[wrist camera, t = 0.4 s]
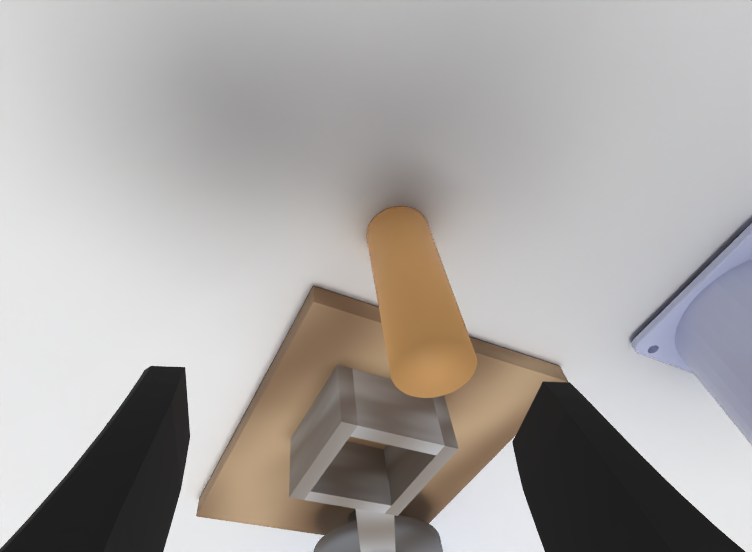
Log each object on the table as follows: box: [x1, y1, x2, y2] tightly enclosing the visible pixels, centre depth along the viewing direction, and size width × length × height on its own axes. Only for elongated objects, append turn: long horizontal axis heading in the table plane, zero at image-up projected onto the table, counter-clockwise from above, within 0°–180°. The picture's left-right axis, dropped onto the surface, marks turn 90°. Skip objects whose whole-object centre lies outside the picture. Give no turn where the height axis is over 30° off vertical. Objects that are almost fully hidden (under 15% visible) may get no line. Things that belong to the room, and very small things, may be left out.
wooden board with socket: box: [196, 286, 568, 552], centre depth 25 cm, size 13×17×6 cm
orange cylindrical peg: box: [367, 206, 477, 398], centre depth 17 cm, size 2×2×7 cm
